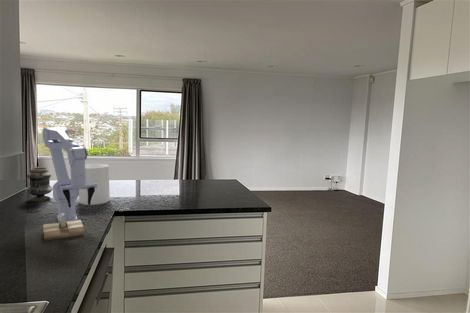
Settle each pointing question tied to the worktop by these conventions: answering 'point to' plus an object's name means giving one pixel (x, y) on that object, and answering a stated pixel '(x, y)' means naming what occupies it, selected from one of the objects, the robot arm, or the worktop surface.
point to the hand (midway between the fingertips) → (79, 205)
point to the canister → (101, 177)
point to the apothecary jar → (39, 183)
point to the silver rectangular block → (63, 220)
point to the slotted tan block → (63, 230)
